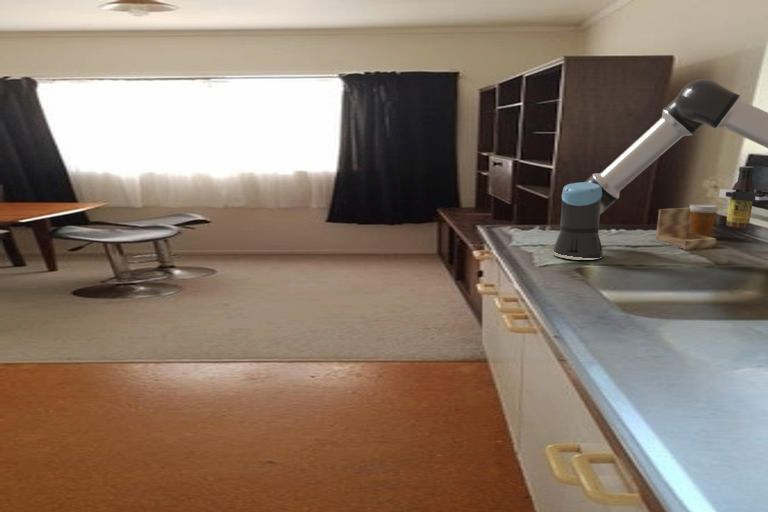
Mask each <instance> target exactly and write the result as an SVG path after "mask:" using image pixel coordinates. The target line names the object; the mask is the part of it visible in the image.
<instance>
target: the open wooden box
mask: <svg viewBox="0 0 768 512" xmlns="http://www.w3.org/2000/svg"><path fill="white" fill-rule="evenodd" d="M689 225H690V208H689V207H682V208H681V207H680V208H679V207H677V208H676V207H675V208H663V209H662V208H661V209H658V216H657V223H656V234H655V240H656V239H657V240H660V241H663V242H666V243H669V244H672V245H675V246H678V247H680V248H679V249H681V248H683V249H682V250H693V249H694V248H696V249H705V248H706V249H707V248H708V247H709V248H716V247H717V238H715V237H711V236H710V237H707V236H702V235H698V234H693V233H690V232H688V230H689ZM694 250H695V249H694Z"/></svg>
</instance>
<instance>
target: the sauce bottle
mask: <svg viewBox="0 0 768 512" xmlns="http://www.w3.org/2000/svg"><path fill="white" fill-rule="evenodd" d="M754 172H755V166H739V168H738V177H737V181H736V182H735V183H734V185H733V186H732V189H731V190H736V189H739V191H741V192H754V190H755V185H754V183H753V174H754ZM753 203H754V202H751V201H742V200H732V199H731V198H729V203H728V205H729V206H728V209H727V216H726V224H725V225H726V226H727V227H729V228H736V229H737V228H738V229H743V228H744V229H745V228H748V227H749V223H750V220H751V214H752V207H753Z"/></svg>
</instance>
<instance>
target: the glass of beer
mask: <svg viewBox="0 0 768 512" xmlns="http://www.w3.org/2000/svg"><path fill="white" fill-rule="evenodd" d="M688 208H690V216H689V233H693V234H698V235H702V236H707V237H711V232H712V230H713V225H714V223H715V222H714V221H715V219H716V215H717V213H718V211H719V209H718V206H717V205H715V204H704V203H703V204H702V203H697V204H694V203H693V204H689V207H688Z"/></svg>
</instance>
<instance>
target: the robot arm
mask: <svg viewBox="0 0 768 512" xmlns="http://www.w3.org/2000/svg"><path fill="white" fill-rule="evenodd" d="M661 113H662V114H661V115H662V116H661V117H660V118H659V119H658V120H657V121H656V122H655V123H654V124H653V125H652V126H651V127H650V128H649V129H647V130H645V132H644V133H643V134H642V135H641V136H639V138H637V140H635V141H634V142H633V143H632V144H630V146H629V147H628V148H627V149H625V150H624V151H623V152H622V153H621V154H620V155H618V156H617V158H616V159H615V160H613V161H612V163H610V164H609V165H608V166H607V167H606V168H605V169H603V171H601V172H600V173H599V172H598V173H596V172H595V173H593V174H591V176H589V177H588V178H587V179H586V180H585V181H584V182H583V181H582V182H574V183H568V184H566V185H564V187H563V189H562V192H561V193H562V194H561V207H560V208H561V209H560V211H561V212H560V223H559V225H560V227H559V233H558V236H557V239H556V241H555V243H554V246H553V250H552V252H553V251H554V252H556V253H558V254H561V255H567V256H573V257H582V258H600V257H602V258H603V254H604V253H603V252H604V250H603V247H602V243H601V242H602V241H601V239H600V235H599V231H600V229H599V228H600V217H601V214H603V213H605V211H606V210H607V209H608V208H609V207H610V206H611V205H613V204H614V203H615V202H616V201H618V199H619V198H620V192H621V190H623V189H624V188H625V187H627V185H629V184H630V183H631V182H632V181H634V180H635V178H637V177H638V176H639V175H641V173H643V171H645V170H646V169H647V168H648V167H649V166H650V165H652V164H653V163H654V162H655V161H656V160H657V159H659V158H660V156H662V155H663V154H664V153H666V152H667V151H668V150H669V149H670V148H671V147H672V146H673V145H675V144H676V143H677V142H678V141H679V140H681V139H682V138H683V137H685V136H686V137H687V136H693V135H694V134H695V133H696V132H697V131H698V130H700V129H701V128H702V127H703V126H704V125H707V126H709V127H711V128H714V129H716V130H718V129H721V128H723V129H725V130H726V131H727V130H728V131H730V132H732V133H734V134H736V135H739V136H740V137H743V138H745V139H747V140H749V141H751V142H753V143H755V144H757V145H760V146H763V147H764V148H766V149H768V111H765V110H762V109H761V108H759V107H756V106H754V105H752V104H750V103H748V102H745V101H743V98H742V95H740V94H737V93H735V92H734V91H731V90H729V88H726V87H724V86H723V85H721V84H720V83H719V82H717V81H715V80H712V79H709V78H708V79H707V78H702V79H701V78H700V79H695V80H694V81H690V82H689V83H687V84H685V85H684V86H683V88H681V90H680V92H679V93H678V94H677V96H676V97H675V98H673V100H672V101H670V102H669V103H668V104H667V105H666V106H665V107H664V108H663V109H662V112H661ZM718 198H723V199H730V198H731V199H732V200H742V201H751V202H753V203H758V204H768V190H767V189H763V190H761V189H754V192H741V191H739V189H736V190H732V189H728V188H727V189H726V188H725V189H724V188H719V193H718Z"/></svg>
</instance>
